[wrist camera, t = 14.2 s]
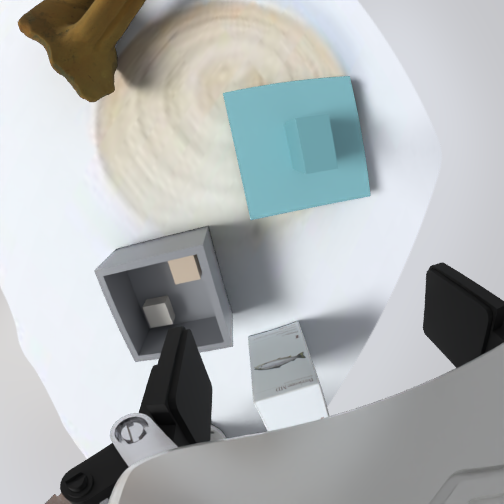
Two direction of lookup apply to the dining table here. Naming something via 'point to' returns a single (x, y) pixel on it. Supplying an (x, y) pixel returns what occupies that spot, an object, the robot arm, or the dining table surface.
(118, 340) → the dining table surface
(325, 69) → the dining table surface
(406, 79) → the dining table surface
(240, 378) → the dining table surface
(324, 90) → the lid
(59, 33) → the brown looped sculpture
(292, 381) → the supplement box
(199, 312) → the tub
